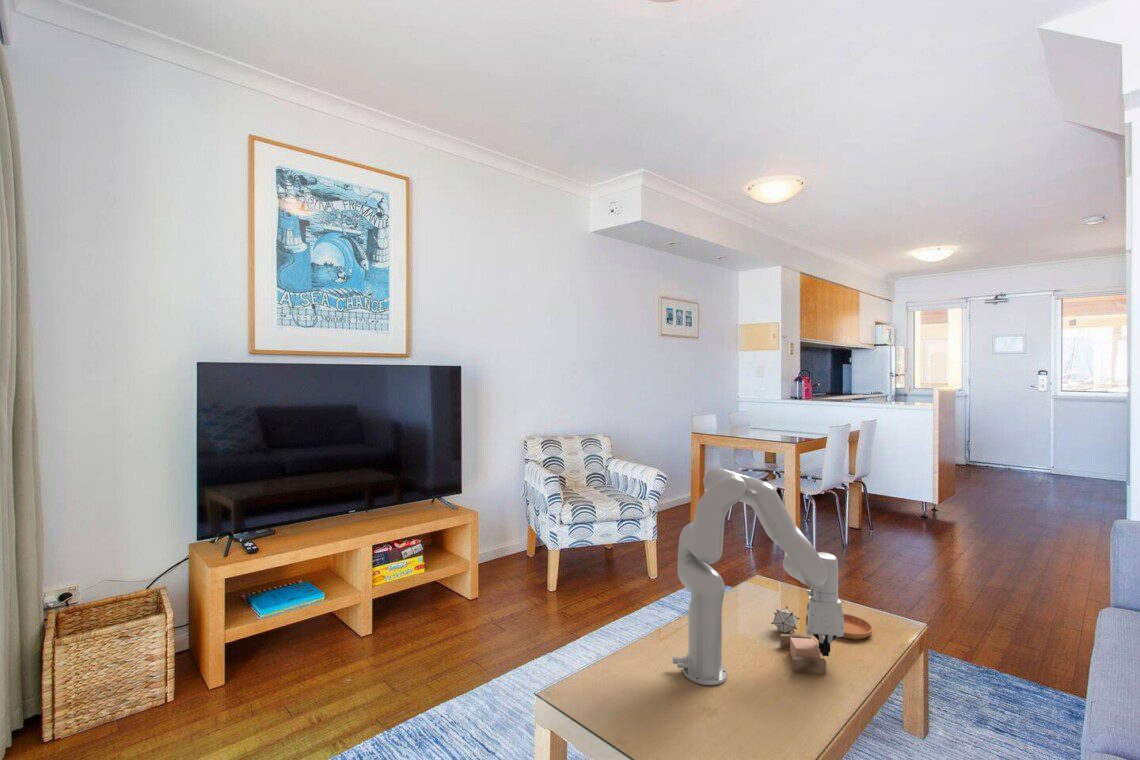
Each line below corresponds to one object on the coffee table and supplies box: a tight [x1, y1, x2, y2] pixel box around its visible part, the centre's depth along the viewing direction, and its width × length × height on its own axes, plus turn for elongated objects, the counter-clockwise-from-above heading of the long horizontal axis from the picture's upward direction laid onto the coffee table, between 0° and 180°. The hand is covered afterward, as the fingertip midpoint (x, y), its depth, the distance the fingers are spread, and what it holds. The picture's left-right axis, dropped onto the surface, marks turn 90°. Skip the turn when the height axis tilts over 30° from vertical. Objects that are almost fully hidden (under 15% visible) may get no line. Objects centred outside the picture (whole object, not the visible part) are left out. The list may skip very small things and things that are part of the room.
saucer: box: [841, 613, 874, 640], centre depth 191 cm, size 16×16×3 cm
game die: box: [770, 606, 800, 634], centre depth 190 cm, size 9×8×10 cm
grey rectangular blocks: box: [779, 633, 827, 676], centre depth 172 cm, size 9×16×4 cm, turn 173°
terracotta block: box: [789, 638, 821, 658], centre depth 172 cm, size 7×7×5 cm
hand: (824, 654), depth 171 cm, fingers closed
